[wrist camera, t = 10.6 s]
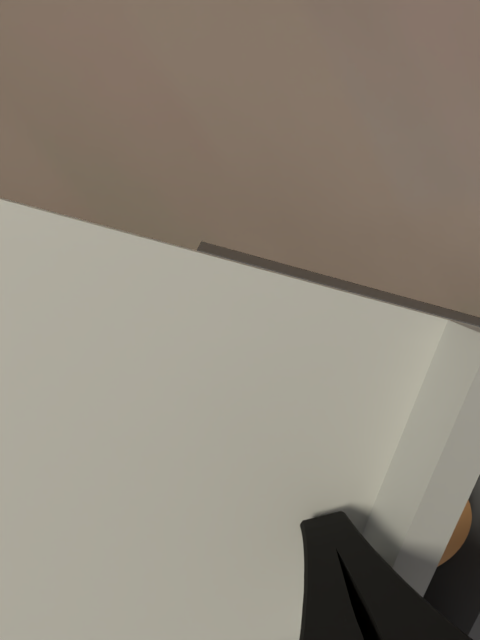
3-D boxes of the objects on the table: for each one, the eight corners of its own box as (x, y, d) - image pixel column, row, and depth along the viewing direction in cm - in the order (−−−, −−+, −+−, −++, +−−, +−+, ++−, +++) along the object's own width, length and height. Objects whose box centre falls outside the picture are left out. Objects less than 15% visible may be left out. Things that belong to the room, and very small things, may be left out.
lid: (475, 325, 11) (537, 350, 9) (323, 687, 14) (343, 769, 12) (-42, 185, 9) (-116, 175, 7) (-91, 635, 12) (-153, 720, 10)
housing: (519, 328, 17) (633, 367, 12) (404, 587, 20) (461, 696, 15) (201, 241, 15) (196, 249, 10) (127, 541, 18) (98, 649, 13)
